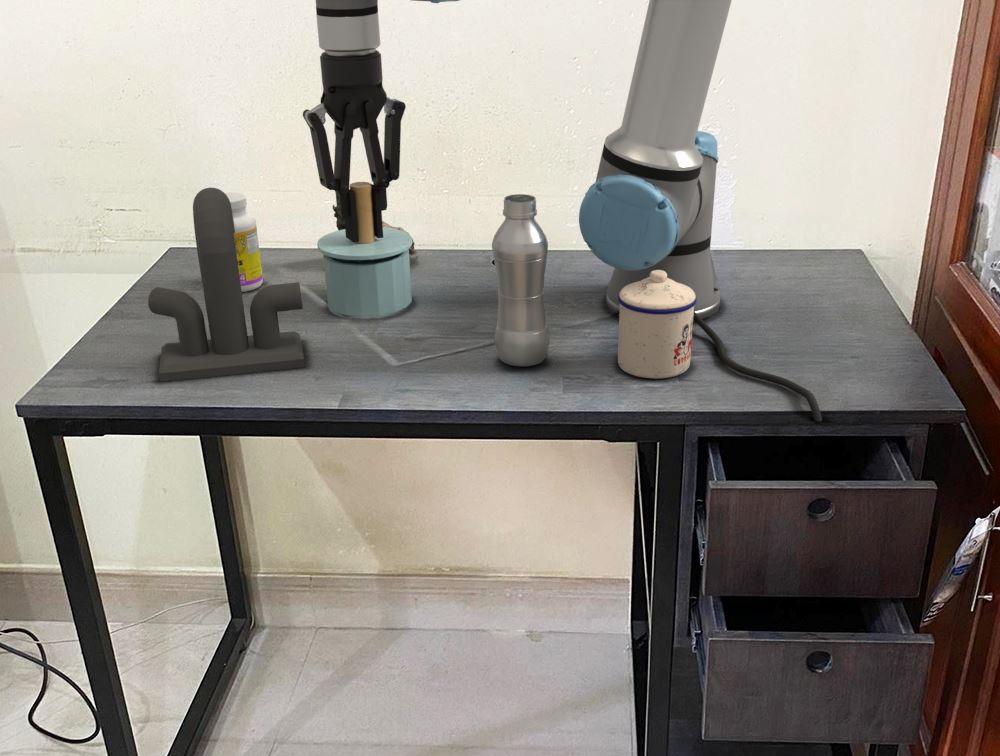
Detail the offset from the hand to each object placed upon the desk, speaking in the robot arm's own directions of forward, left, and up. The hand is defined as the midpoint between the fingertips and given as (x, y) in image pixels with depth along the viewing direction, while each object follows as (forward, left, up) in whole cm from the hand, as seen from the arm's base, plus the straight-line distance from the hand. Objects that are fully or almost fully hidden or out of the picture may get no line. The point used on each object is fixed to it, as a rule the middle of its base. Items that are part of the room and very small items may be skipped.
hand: (364, 236), depth 153 cm
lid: (0, 0, -1) cm, 1 cm away
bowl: (0, 0, -10) cm, 10 cm away
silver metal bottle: (-28, -8, -10) cm, 31 cm away
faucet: (-6, +21, -10) cm, 24 cm away
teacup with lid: (-36, -22, -10) cm, 43 cm away
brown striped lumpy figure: (+13, -7, -10) cm, 18 cm away
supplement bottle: (+17, +13, -10) cm, 24 cm away
